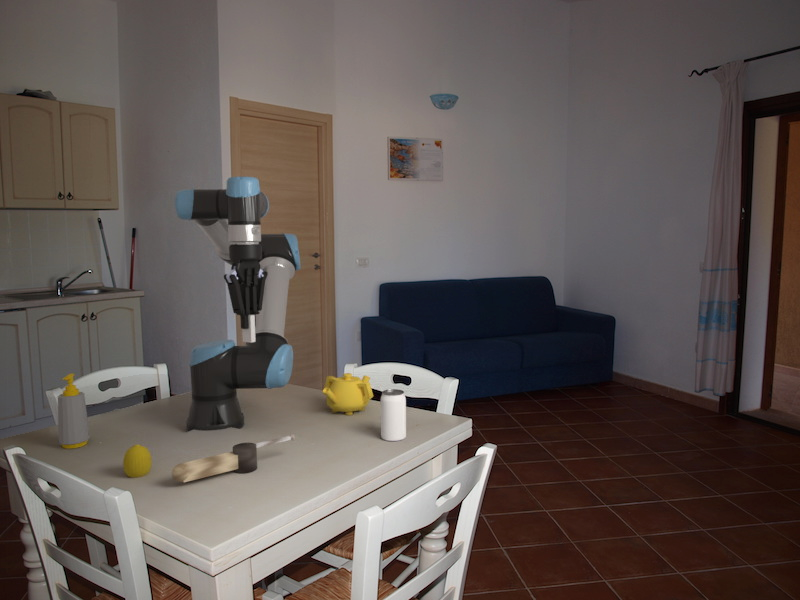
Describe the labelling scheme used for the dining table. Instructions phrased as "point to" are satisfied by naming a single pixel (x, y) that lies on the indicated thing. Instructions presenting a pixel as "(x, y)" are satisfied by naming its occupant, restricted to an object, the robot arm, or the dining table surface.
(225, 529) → the dining table surface
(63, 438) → the soap bottle
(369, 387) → the teapot
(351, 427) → the dining table surface
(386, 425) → the can
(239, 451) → the tan long two-tone device
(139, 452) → the lemon
